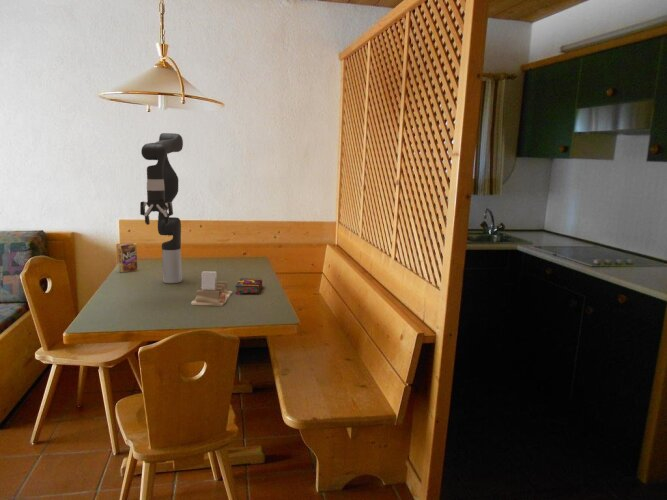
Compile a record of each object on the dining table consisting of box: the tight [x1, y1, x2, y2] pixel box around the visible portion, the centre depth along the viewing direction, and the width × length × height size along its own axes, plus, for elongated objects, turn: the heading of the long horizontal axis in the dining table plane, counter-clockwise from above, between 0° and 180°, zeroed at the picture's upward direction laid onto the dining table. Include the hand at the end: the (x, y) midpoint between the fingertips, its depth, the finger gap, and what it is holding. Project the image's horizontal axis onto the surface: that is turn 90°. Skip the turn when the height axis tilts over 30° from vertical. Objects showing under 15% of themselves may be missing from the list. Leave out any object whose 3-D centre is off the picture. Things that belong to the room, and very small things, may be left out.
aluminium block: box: [200, 270, 218, 291], centre depth 232 cm, size 3×6×13 cm, turn 89°
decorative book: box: [235, 277, 263, 296], centre depth 254 cm, size 11×16×5 cm
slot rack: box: [190, 281, 233, 307], centre depth 238 cm, size 20×14×6 cm
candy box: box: [117, 242, 138, 273], centre depth 285 cm, size 9×4×15 cm, turn 134°
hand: (157, 224), depth 237 cm, fingers open, 8 cm apart
